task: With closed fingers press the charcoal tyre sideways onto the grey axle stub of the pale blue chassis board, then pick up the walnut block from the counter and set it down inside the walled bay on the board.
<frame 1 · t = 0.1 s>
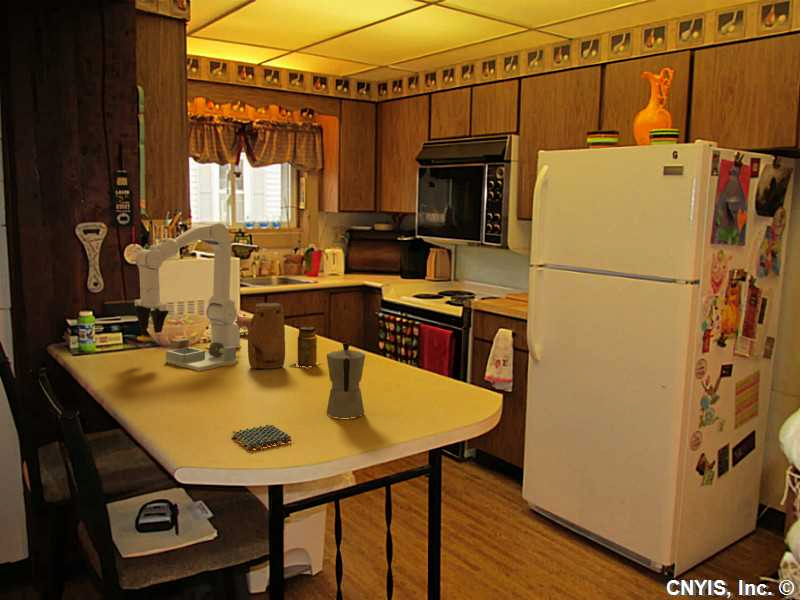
hand: (151, 330, 216), 10 cm above the table, tool pointing down, fingers open, 7 cm apart
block: (266, 367, 214), on the table
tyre: (216, 349, 220), point 4 cm above the table, slide at 0.0 cm
bull figurine: (244, 335, 263), on the table
woven mat: (261, 443, 149), on the table
condiment: (305, 365, 217), on the table
walnut block: (179, 357, 224), on the table
chassis: (202, 362, 218), on the table
coffeepot: (345, 416, 167), on the table
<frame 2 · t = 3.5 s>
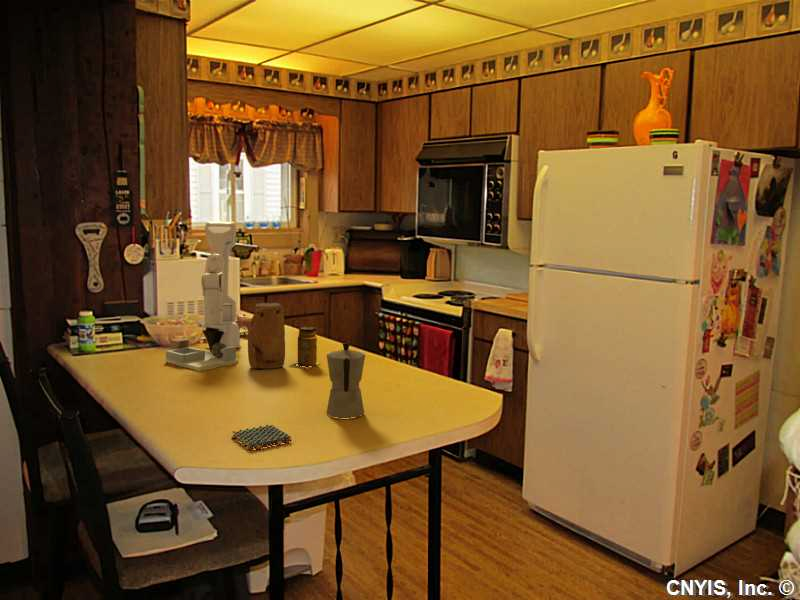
hand: (214, 351, 221), 3 cm above the table, tool pointing down, fingers closed
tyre: (219, 350, 219), point 4 cm above the table, slide at 1.4 cm, touching gripper
everything else where it was.
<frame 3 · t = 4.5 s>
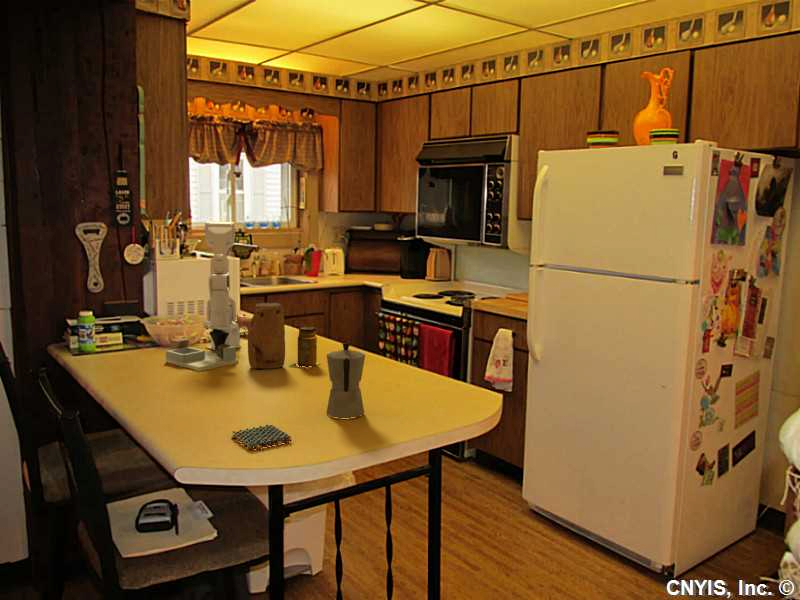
hand: (219, 352, 219), 3 cm above the table, tool pointing down, fingers closed, pressing on chassis
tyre: (224, 351, 218), point 4 cm above the table, slide at 3.8 cm
everything else where it was.
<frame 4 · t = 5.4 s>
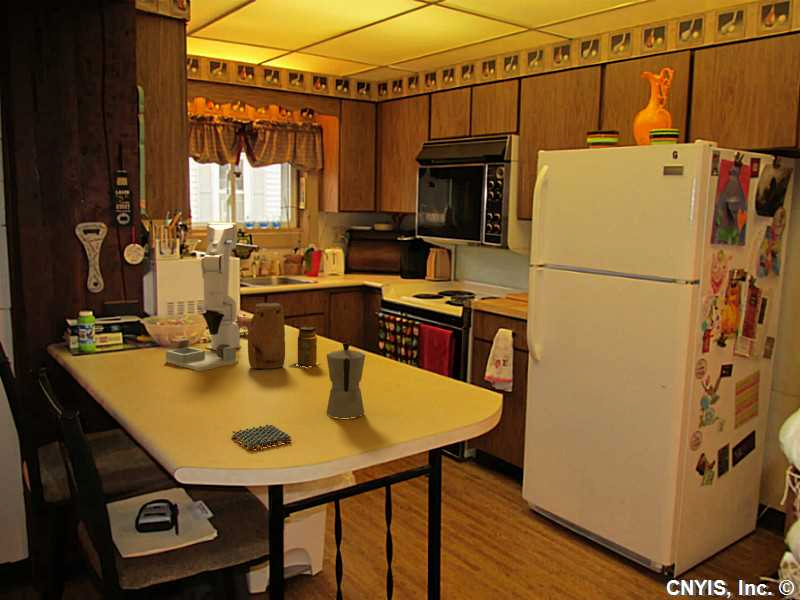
hand: (213, 334, 220), 9 cm above the table, tool pointing down, fingers closed
nothing on the table moved.
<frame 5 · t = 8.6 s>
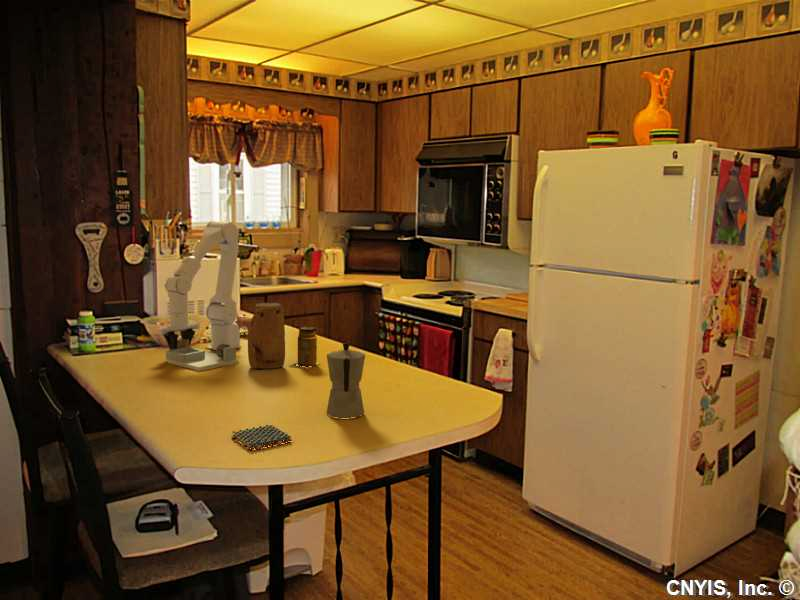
hand: (179, 353, 224), 1 cm above the table, tool pointing down, fingers closed on walnut block, 4 cm apart
walnut block: (179, 357, 224), on the table, touching gripper
everything else where it was.
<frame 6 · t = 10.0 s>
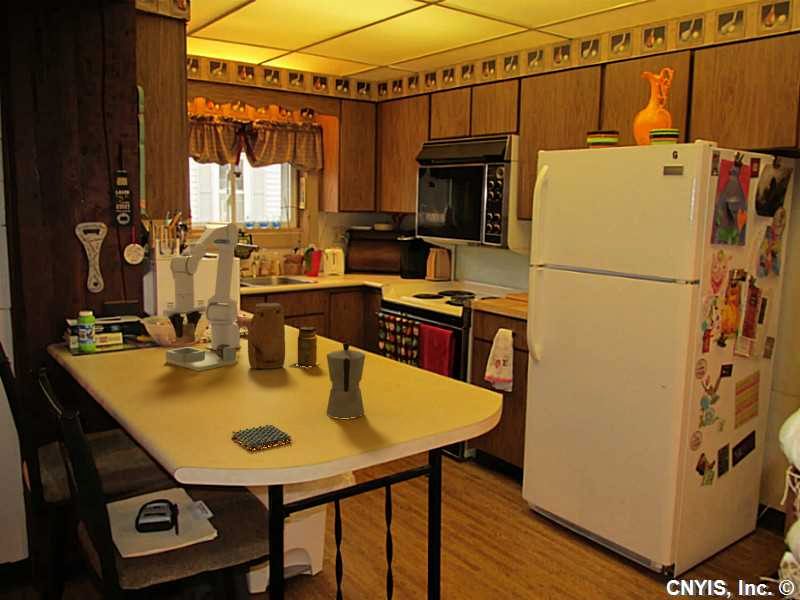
hand: (185, 336, 216), 8 cm above the table, tool pointing down, fingers closed on walnut block, 4 cm apart
walnut block: (185, 342, 217), point 7 cm above the table, touching gripper
everything else where it was.
when the fingers open (4 cm above the table, at t = 11.6 s): walnut block drops 1 cm, resting on chassis.
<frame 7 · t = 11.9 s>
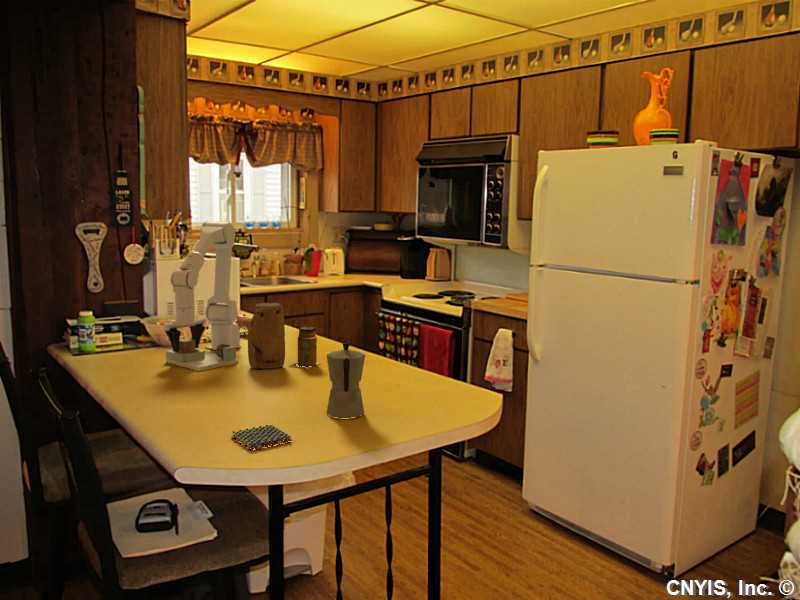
hand: (185, 349, 217), 4 cm above the table, tool pointing down, fingers open, 7 cm apart
walnut block: (185, 358, 218), point 1 cm above the table, touching chassis
everything else where it was.
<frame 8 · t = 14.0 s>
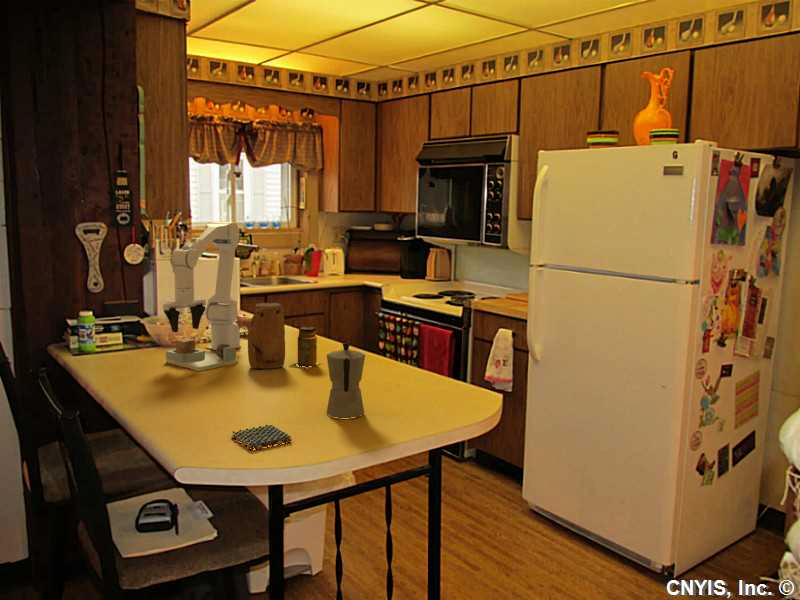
hand: (185, 330, 216), 10 cm above the table, tool pointing down, fingers open, 7 cm apart
nothing on the table moved.
at the end: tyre slide at 3.8 cm; walnut block 0.1 cm from the target spot on the chassis, point 1.2 cm above the chassis's base; walnut block tilted 0° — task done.
